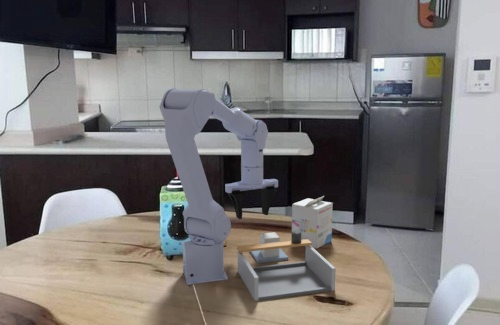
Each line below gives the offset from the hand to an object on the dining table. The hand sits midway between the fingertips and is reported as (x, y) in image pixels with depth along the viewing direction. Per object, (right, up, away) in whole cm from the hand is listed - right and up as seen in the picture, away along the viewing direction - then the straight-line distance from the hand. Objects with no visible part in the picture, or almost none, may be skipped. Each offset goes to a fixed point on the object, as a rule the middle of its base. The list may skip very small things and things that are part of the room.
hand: (252, 216), depth 118 cm
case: (+7, -13, -17) cm, 22 cm away
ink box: (+17, -9, +8) cm, 21 cm away
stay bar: (+5, -6, -11) cm, 14 cm away
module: (+4, -9, -3) cm, 11 cm away
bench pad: (+4, -10, -2) cm, 12 cm away
